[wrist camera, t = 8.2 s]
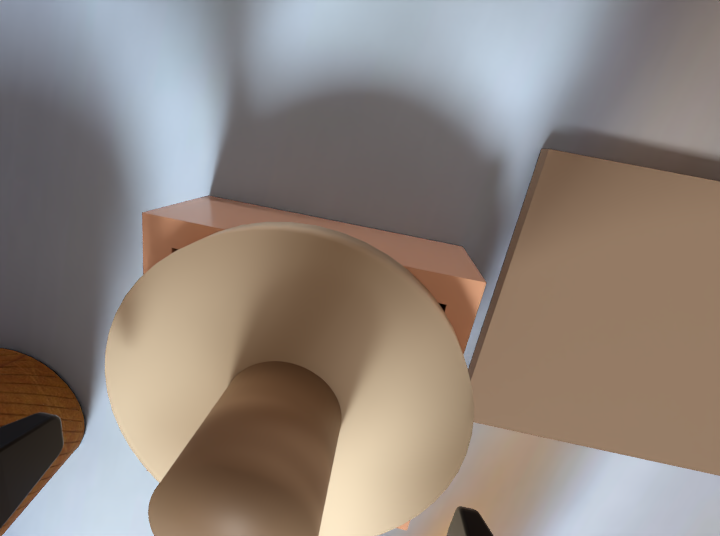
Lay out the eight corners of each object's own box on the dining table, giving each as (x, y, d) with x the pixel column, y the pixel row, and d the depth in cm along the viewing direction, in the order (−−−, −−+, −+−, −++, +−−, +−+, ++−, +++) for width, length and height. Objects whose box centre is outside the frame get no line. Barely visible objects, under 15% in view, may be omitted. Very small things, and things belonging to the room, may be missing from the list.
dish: (462, 246, 12) (486, 282, 9) (404, 447, 15) (406, 530, 12) (208, 195, 13) (142, 212, 9) (199, 402, 16) (147, 470, 12)
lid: (515, 266, 9) (611, 362, 5) (419, 543, 12) (430, 734, 8) (124, 186, 9) (-81, 216, 5) (134, 476, 12) (12, 630, 9)
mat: (873, 212, 11) (900, 215, 10) (708, 462, 14) (721, 476, 14) (541, 148, 11) (549, 149, 11) (455, 408, 14) (457, 418, 14)
